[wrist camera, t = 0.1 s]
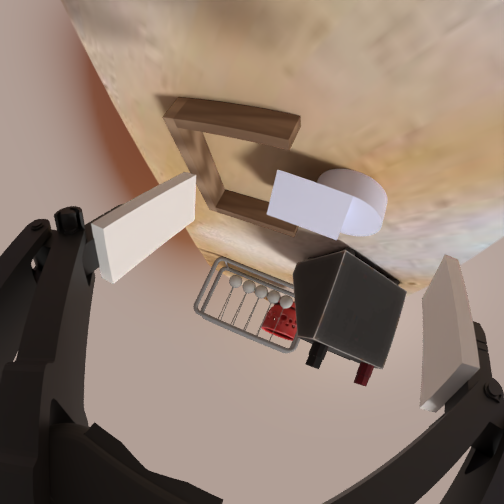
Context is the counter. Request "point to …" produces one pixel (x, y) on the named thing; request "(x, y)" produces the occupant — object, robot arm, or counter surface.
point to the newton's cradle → (248, 288)
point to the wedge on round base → (330, 202)
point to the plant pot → (281, 321)
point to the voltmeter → (346, 310)
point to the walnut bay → (236, 126)
